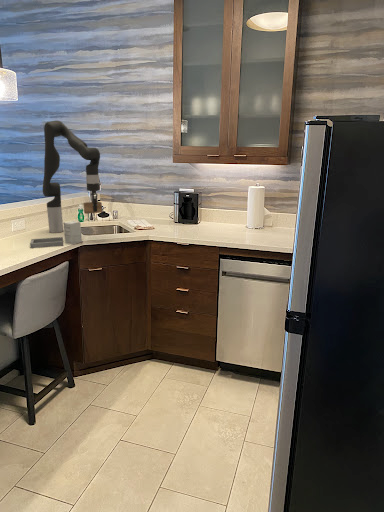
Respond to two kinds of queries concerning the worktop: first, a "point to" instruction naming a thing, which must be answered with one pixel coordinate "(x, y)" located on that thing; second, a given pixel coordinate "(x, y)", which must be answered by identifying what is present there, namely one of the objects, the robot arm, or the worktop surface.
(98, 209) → the walnut block
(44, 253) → the worktop surface
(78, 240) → the supplement box
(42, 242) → the tray
